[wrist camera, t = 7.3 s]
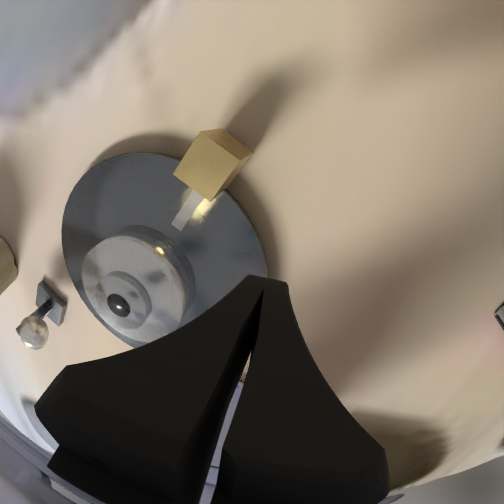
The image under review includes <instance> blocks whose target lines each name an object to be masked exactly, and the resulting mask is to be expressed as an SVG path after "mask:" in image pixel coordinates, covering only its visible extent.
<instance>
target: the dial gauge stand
mask: <svg viewBox="0 0 504 504" xmlns="http://www.w3.org/2000/svg"><path fill="white" fill-rule="evenodd" d="M36 305H37V306H38V307H39V308H38V309H37V310H36V311H34V312H33V313H32V314H31V315H30V316H29V317H26V318H25V319H23V321H22V322H21V324H20V325H19V326H18V327H17V328H16V331H17V333H18V334H19V335H20V337H21V340H22V342H23V343H24V344H25V345H26V346H27V347H28V348H31V349H35V350H37V349H41V348H43V347H44V346H45V345H46V343H47V340H48V333H49V331H48V327H47V325H46V323H45V322H44V321H43V320H42V319H43V318H44V317H45V316H46V315H47V316H48V317H49V318H50V319H51V320H52V321H53V322H54V323H55V324H56V325H57V326H58V327H59V326H60V325H61V324H62V323H63V318H64V314H65V310H66V306H67V303H66V302H65V301H63V300H62V299H61V298H60V297H59V296H58V295H57V294H56V293H55V292H54V291H53V290H52V289H51V288H50V287H49V286H48V285H47V284H46V283H45V282H44V281H41V282H40V283H39V284H38V289H37V297H36Z"/></svg>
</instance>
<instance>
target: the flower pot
mask: <svg viewBox="0 0 504 504" xmlns="http://www.w3.org/2000/svg"><path fill="white" fill-rule="evenodd" d="M16 277H17V267H16V266H15V264H14V256H13V253H12V251H11V249H10V248H9V246H8V244H7V243H6V242H5V240H4V239H3V238H1V237H0V295H1V294H2V293H3V292H4V291H5V290H6V289H7V288H8V286H9V285H10V284H11V283H12V282H13V281H14V280H15V279H16Z"/></svg>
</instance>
